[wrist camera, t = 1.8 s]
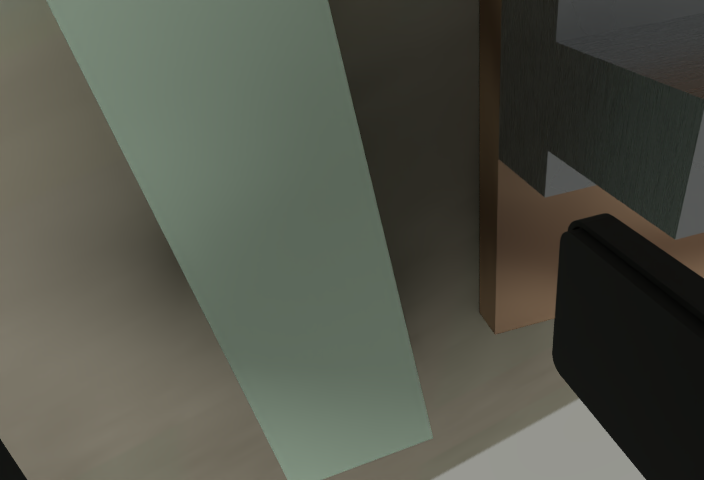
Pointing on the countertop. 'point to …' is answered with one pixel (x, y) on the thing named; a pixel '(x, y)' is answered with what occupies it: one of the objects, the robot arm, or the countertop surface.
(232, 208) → the beam
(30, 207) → the countertop surface
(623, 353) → the robot arm
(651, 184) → the stand
